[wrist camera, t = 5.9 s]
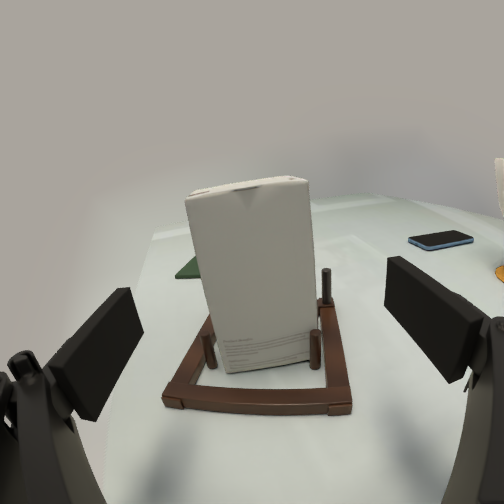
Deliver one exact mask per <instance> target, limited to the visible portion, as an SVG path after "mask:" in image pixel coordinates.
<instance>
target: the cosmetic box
mask: <svg viewBox="0 0 504 504" xmlns="http://www.w3.org/2000/svg"><path fill="white" fill-rule="evenodd" d="M185 206H186V211H187V216H188V221H189V226H190V231H191V235H192V240H193V245H194V249H195V254H196V258H197V263H198V267H199V272H200V276H201V280H202V285H203V289H204V293H205V297H206V301H207V305H208V309H209V313H210V317H211V320H212V324H213V328H214V332H215V336H216V339H217V343H218V347H219V350H220V354H221V357H222V361H223V364H224V368H225V371H226V373H234V372H241V371H248V370H255V369H261V368H267V367H273V366H279V365H285V364H290V363H295V362H300V361H305V360H310V331H311V330H313V329H318V328H317V299H316V276H315V257H314V243H313V231H312V219H311V208H310V197H309V182H308V181H307V180H305V179H302V178H297V177H292V176H291V175H287V176H278V177H270V178H263V179H257V180H251V181H245V182H238V183H232V184H227V185H222V186H216V187H211V188H205V189H200V190H195V191H194V192H193V193H191V194H190V195H189V196H188V197H187V198H186V199H185Z"/></svg>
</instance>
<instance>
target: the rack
mask: <svg viewBox="0 0 504 504" xmlns="http://www.w3.org/2000/svg"><path fill="white" fill-rule="evenodd" d="M318 316H320V321H321V331H322V341H323V352H324V363H325V376H326V388H313V389H243V388H225V387H212V386H201V385H195V383H196V381H197V379H198V377H199V375H200V373H201V370H202V368H203V366H204V364H205V362H207V366H208V368H210V369H214V368H216V367H217V365H218V364H217V360H216V356H215V352H214V348H213V345H214V343H215V340H216V336H215V332H214V328H213V324H212V320H211V317H210V314H209V315H208V317H207V319H206V321H205V322H204V324H203V326H202V328H201V329H200V331H199V333H198V335H197V336H196V338H195V340H194V342H193V343H192V345H191V347H190V349H189V350H188V352H187V354H186V356H185V357H184V359H183V361H182V362H181V364H180V366H179V368H178V369H177V371H176V373H175V375H174V376H173V378H172V380H171V382H169V383H168V384H167V386H166V388H165V390H164V391H163V393H162V398H161V399H162V401H163V403H164V405H165V406H166V407H172V408H178V409H184V407H185V408H192V409H200V410H208V411H217V412H228V413H241V414H261V415H308V414H328V416H333V415H345V414H351V410H352V396H351V389H350V386H349V380H348V374H347V368H346V362H345V357H344V351H343V346H342V341H341V335H340V330H339V326H338V321H337V316H336V311H335V305H334V301H333V298H332V297H331V269H329V268H324V269H322V298H319V300H317V328H318ZM321 331H320V330H319V329H313V330H311V331H310V368H311V369H314V370H316V369H319V368H320V366H321Z"/></svg>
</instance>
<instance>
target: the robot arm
mask: <svg viewBox="0 0 504 504" xmlns="http://www.w3.org/2000/svg"><path fill="white" fill-rule="evenodd" d="M384 306H385V307H386V309H387V310H388V311H389V312H390V313H391V314H392V315H393V317H394V318H395V319H396V320H397V321H398V322H399V323H400V325H401V326H402V327H403V328H404V329H405V330H406V332H407V333H408V334H409V335H410V336H411V337H412V339H413V340H414V341H415V342H416V343H417V345H418V346H419V347H420V348H421V350H422V351H423V352H424V353H425V354H426V356H427V357H428V358H429V359H430V361H431V362H432V363H433V364H434V366H435V367H436V368H437V369H438V371H439V372H440V373H441V374H442V376H443V377H444V378H445V380H446V381H447V382H448V384H450V383H453V382H455V381H457V380H459V379H461V378H463V376H464V374H465V372H466V369H467V367H468V366H469V367H470V368H471V369H472V370H473V371H472V373H471V375H470V378H469V380H468V382H467V384H466V386H465V389H464V391H463V392H466V390H467V388H469V390H468V398H467V406H466V413H465V419H464V424H463V430H462V435H461V439H460V444H459V448H458V452H457V456H456V460H455V463H454V467H453V470H452V473H451V477H450V480H449V483H448V486H447V489H446V491H445V494H444V497H443V500H442V502H441V504H504V317H494V318H492V319H491V318H490V317H489V316H487V315H486V314H485V313H484V312H482V311H481V310H480V309H478V308H477V307H476V306H473V304H472V303H470V302H469V301H467V300H466V299H465V298H464V297H462V296H461V295H459V294H457V293H454V292H452V291H450V290H449V289H447V288H446V287H444V286H443V285H442V284H440V283H439V282H437V281H436V280H435V279H433V278H432V277H430V276H429V275H427V274H426V273H425V272H423V271H422V270H420V269H419V268H417V267H416V266H414V265H413V264H411V263H410V262H408V261H407V260H405V259H404V258H402V257H401V256H396V257H389V258H387V275H386V289H385V300H384ZM143 334H144V331H143V328H142V325H141V322H140V319H139V316H138V313H137V310H136V306H135V303H134V300H133V297H132V293H131V290H130V287H126V288H117V289H116V290H115V291H114V292H113V293H112V294H111V295H110V296H109V297H108V299H106V301H105V302H104V303H103V304H102V305H101V306H100V307H99V308H98V309H97V310H96V311H95V312H94V313H93V314H92V315H91V316H90V318H89V319H88V320H87V321H86V322H85V323H84V324H83V325H82V326H81V327H80V328H79V329H78V330H77V332H76V333H75V334H74V335H73V336H72V337H71V338H69V339H68V340H67V341H66V342H65V343H64V344H63V345H62V346H61V347H62V348H60V349H59V350H58V351H57V353H55V355H54V356H53V357H52V358H51V359H50V360H49V361H48V363H47V364H46V365H45V366H44V367H43V369H41V367H40V365H39V363H38V361H37V360H36V358H35V356H34V354H33V352H32V351H28V350H25V351H21V352H19V353H17V354H15V355H14V356H13V357H11V359H10V360H9V361H8V364H7V366H8V367H9V369H10V371H11V373H12V374H13V376H14V378H15V379H16V381H15V382H11V381H10V379H9V377H8V376H7V374H6V373H5V372H0V504H107V503H106V501H105V499H104V497H103V495H102V493H101V490H100V488H99V486H98V484H97V482H96V479H95V477H94V475H93V472H92V470H91V467H90V465H89V462H88V459H87V457H86V454H85V451H84V448H83V445H82V442H81V439H80V437H79V433H78V430H77V427H76V423H75V420H74V419H73V417H72V416H71V413H72V412H73V410H74V409H75V411H76V412H77V414H78V415H79V416H80V418H81V419H83V420H88V421H93V422H96V421H97V419H98V417H99V415H100V413H101V411H102V409H103V407H104V405H105V403H106V401H107V399H108V397H109V396H110V394H111V392H112V390H113V388H114V386H115V384H116V382H117V380H118V379H119V377H120V375H121V373H122V371H123V369H124V368H125V366H126V364H127V362H128V360H129V358H130V357H131V355H132V353H133V351H134V350H135V348H136V346H137V344H138V342H139V341H140V339H141V337H142V335H143ZM4 416H6V417H7V418H8V419H9V421H10V422H11V423H12V424H11V427H9V426H8V425H7V424H6V423H5V421H4Z"/></svg>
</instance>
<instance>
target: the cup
mask: <svg viewBox="0 0 504 504" xmlns="http://www.w3.org/2000/svg"><path fill="white" fill-rule="evenodd" d="M495 171H496V183H497V193H498V200H499V205H500V209H501V212H502V214H503V217H504V158H495ZM495 274H496V275H497V277H498V278H499V279H500V280H501V281H502V282H504V266H500V267H498V268H496V271H495Z"/></svg>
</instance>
